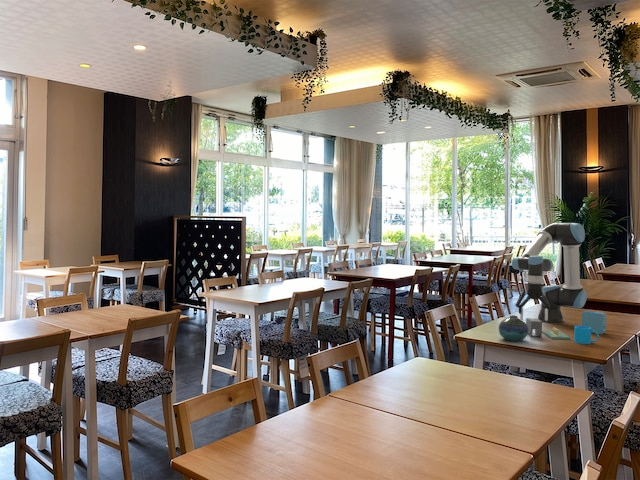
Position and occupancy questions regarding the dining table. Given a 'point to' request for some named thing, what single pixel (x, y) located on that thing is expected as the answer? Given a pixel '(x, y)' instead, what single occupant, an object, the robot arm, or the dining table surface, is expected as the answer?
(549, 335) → the header board
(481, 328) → the dining table surface
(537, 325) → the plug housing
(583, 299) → the robot arm
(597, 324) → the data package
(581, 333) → the mug
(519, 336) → the vase
